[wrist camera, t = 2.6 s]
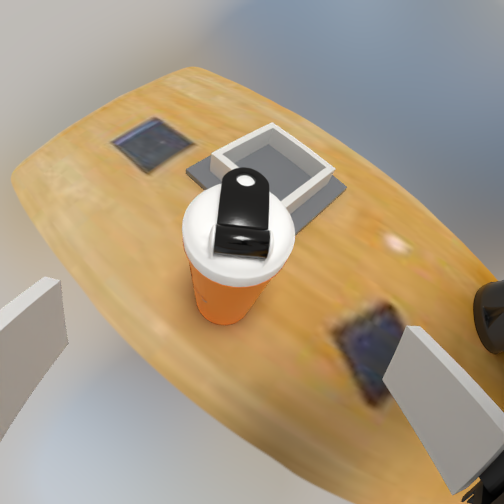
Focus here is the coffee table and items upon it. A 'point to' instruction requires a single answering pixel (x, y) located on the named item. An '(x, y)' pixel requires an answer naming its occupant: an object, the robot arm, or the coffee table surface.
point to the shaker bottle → (235, 243)
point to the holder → (276, 171)
